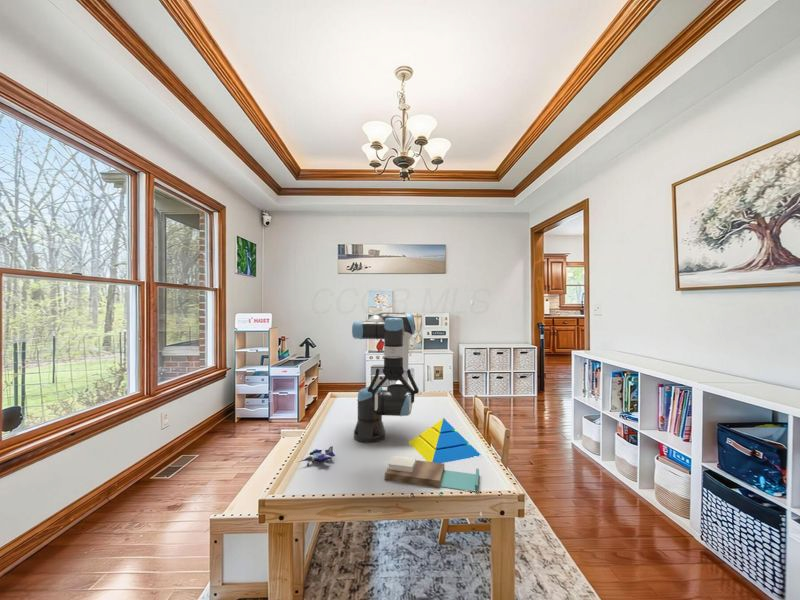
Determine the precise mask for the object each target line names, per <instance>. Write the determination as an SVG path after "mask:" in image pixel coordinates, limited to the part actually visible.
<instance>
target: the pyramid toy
mask: <svg viewBox="0 0 800 600" xmlns="http://www.w3.org/2000/svg"><path fill="white" fill-rule="evenodd" d="M407 443H408V444H409V445H410V446H411V447H412V448H413V449H415V451H416V452H418V453H419V454H420V456H422V457H423V458H424V459H425V461H427V462H435V463H443V464H445V463H450V462H455V461H459V460H466V459H471V457H472V458H475V457H474V456H477V457H480V456H479V455H482V454H481V453H480V452H479V451H477V449H475V448H474V446H472V444H470V442H469V441H468V440H467V439H466V438H465V437H463V436H462V435H461V434H460V432H458V431H457V430H456V429H455V428H454V427H453V425H451V423H450V422H448V421H447V420H446V419H445V417H442V418H441V419H440V420H438V421H437V422H435V423H434V424H432V425H431V426H430V427H428V428H426V429H425V430H424V431H422V432H421V433H420V434H419V435H417V436H415V437H414V438H411V440H409V441H408V442H407Z"/></svg>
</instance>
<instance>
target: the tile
mask: <svg viewBox="0 0 800 600" xmlns="http://www.w3.org/2000/svg"><path fill="white" fill-rule="evenodd" d="M416 460H417V458H414V457H405V456H400V455H399V456H397V455H393V457H392V458H391V459H390V461H389V462H388V467H389V469H390V470H397V471H405V472H413V470H414V468H415V465H416Z"/></svg>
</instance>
